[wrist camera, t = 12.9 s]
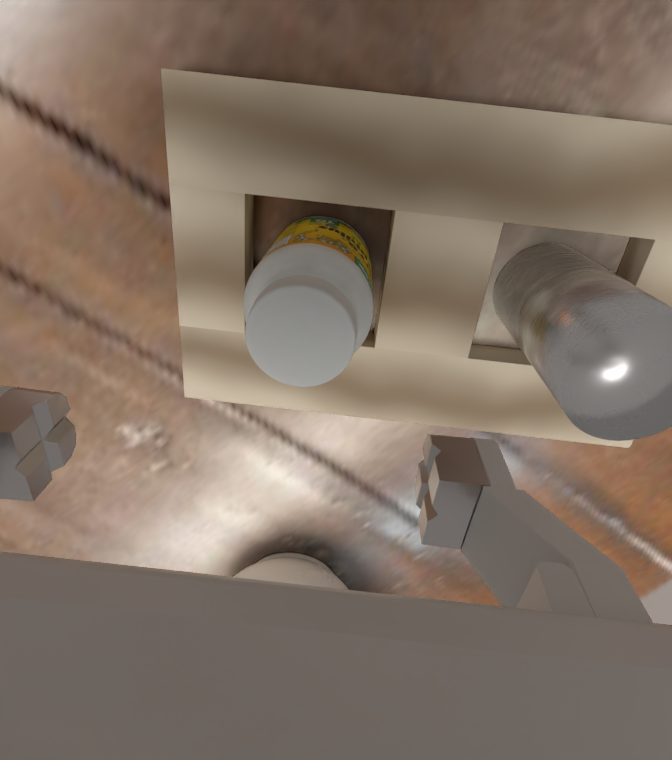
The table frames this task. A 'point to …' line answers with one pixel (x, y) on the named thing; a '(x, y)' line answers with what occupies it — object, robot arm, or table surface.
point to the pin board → (400, 234)
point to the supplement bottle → (309, 302)
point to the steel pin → (590, 340)
